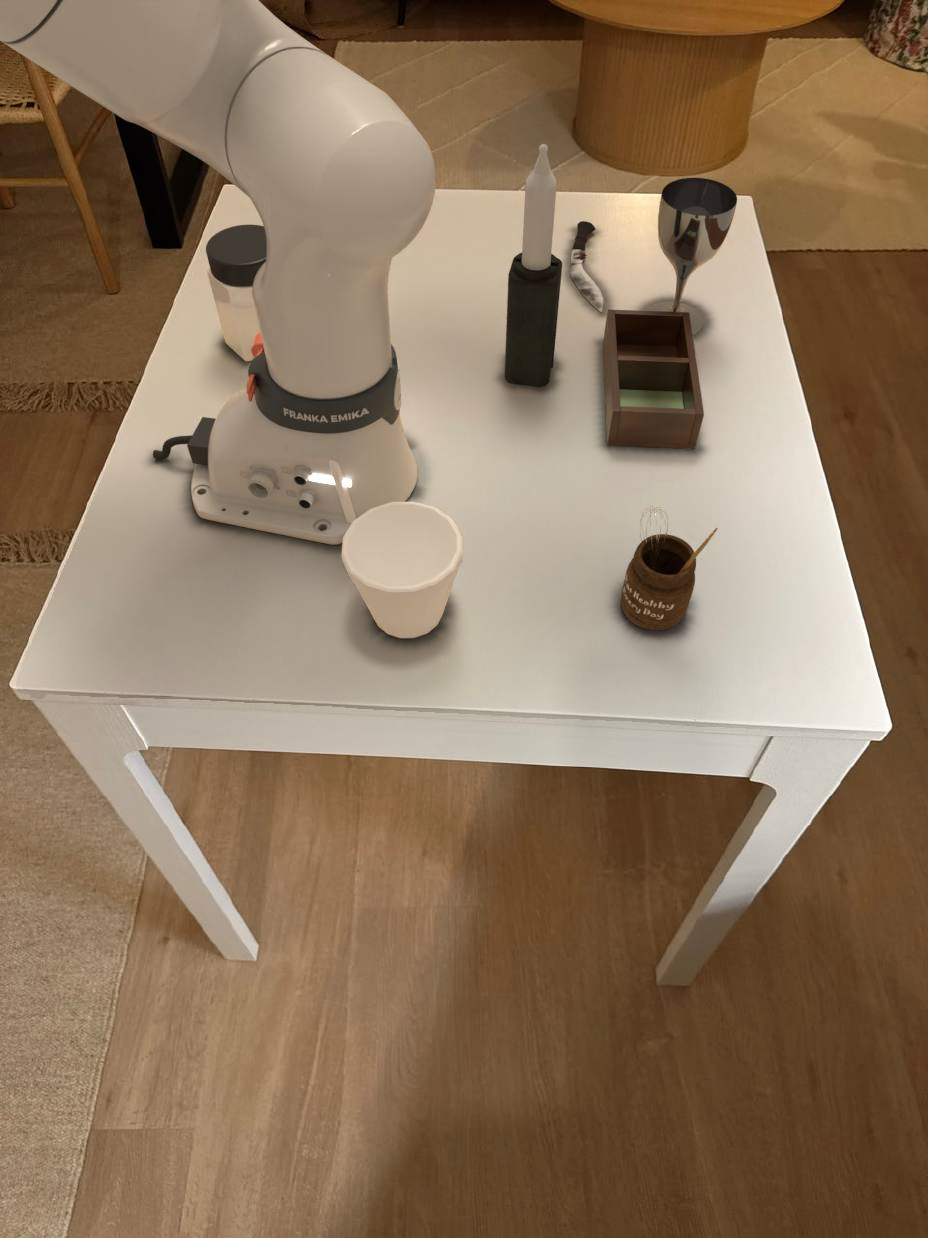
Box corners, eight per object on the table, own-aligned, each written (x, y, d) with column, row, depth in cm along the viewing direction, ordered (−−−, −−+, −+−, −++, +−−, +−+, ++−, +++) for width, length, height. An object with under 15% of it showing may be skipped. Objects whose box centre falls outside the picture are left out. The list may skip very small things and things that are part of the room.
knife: (624, 304, 107) (582, 309, 107) (623, 314, 108) (582, 319, 108) (594, 218, 118) (556, 223, 118) (593, 228, 119) (556, 233, 119)
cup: (367, 563, 84) (357, 493, 76) (472, 577, 83) (472, 507, 75) (340, 650, 78) (326, 582, 70) (453, 666, 77) (451, 599, 69)
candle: (547, 388, 99) (568, 160, 79) (502, 383, 100) (511, 154, 80) (554, 360, 102) (575, 133, 82) (510, 355, 103) (520, 128, 83)
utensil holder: (641, 571, 83) (664, 476, 74) (701, 605, 81) (732, 511, 71) (606, 610, 80) (624, 517, 71) (666, 646, 78) (694, 555, 68)
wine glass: (711, 339, 104) (743, 216, 92) (643, 339, 105) (666, 215, 93) (702, 300, 109) (731, 177, 97) (636, 299, 109) (657, 176, 97)
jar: (315, 344, 104) (299, 247, 95) (254, 372, 101) (232, 275, 92) (274, 309, 108) (255, 213, 99) (214, 335, 105) (189, 239, 96)
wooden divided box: (607, 445, 94) (612, 410, 90) (602, 343, 104) (607, 308, 100) (695, 449, 93) (704, 414, 90) (681, 346, 104) (689, 311, 100)
